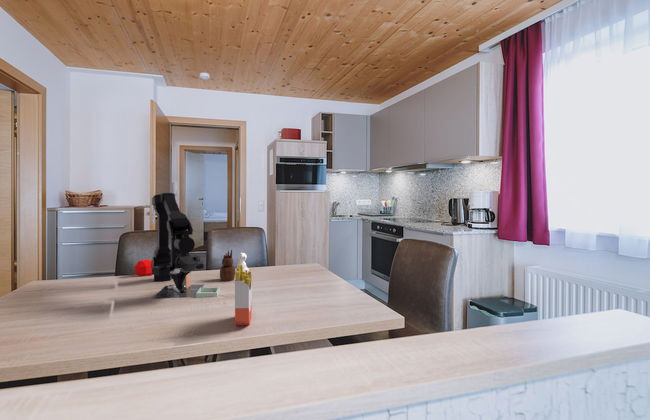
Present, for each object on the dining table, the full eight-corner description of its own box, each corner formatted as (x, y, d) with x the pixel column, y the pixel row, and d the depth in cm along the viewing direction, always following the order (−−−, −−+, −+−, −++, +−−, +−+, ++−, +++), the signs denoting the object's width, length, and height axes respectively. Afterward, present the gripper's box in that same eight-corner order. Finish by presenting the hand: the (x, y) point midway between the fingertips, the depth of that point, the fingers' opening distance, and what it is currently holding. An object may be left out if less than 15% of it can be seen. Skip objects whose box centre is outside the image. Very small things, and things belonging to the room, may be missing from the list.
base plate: (151, 301, 129) (151, 298, 129) (165, 288, 146) (165, 285, 146) (195, 299, 131) (195, 296, 131) (204, 286, 148) (204, 284, 148)
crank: (166, 288, 142) (166, 279, 142) (175, 286, 145) (175, 277, 144) (179, 295, 132) (179, 286, 132) (188, 293, 135) (188, 284, 134)
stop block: (178, 287, 143) (178, 276, 143) (182, 285, 146) (182, 274, 146) (186, 288, 143) (186, 276, 142) (190, 285, 146) (190, 274, 146)
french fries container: (253, 315, 115) (252, 262, 114) (250, 328, 105) (250, 270, 104) (239, 315, 115) (238, 262, 114) (234, 329, 104) (234, 270, 103)
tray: (196, 299, 131) (196, 293, 131) (200, 293, 138) (200, 287, 138) (217, 298, 132) (216, 292, 132) (219, 293, 140) (219, 287, 140)
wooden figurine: (237, 280, 159) (237, 248, 158) (232, 284, 153) (232, 250, 152) (223, 280, 160) (222, 248, 159) (218, 283, 154) (217, 250, 153)
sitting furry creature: (231, 275, 169) (230, 251, 168) (248, 273, 172) (248, 250, 171) (231, 279, 160) (231, 254, 159) (250, 278, 163) (250, 253, 162)
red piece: (158, 275, 167) (157, 260, 166) (142, 279, 160) (141, 263, 159) (148, 273, 171) (148, 258, 170) (132, 276, 164) (132, 260, 164)
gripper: (167, 254, 119) (168, 298, 120) (212, 248, 135) (212, 288, 135) (150, 251, 126) (151, 293, 126) (195, 246, 141) (195, 284, 141)
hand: (179, 289), depth 132 cm, fingers closed
